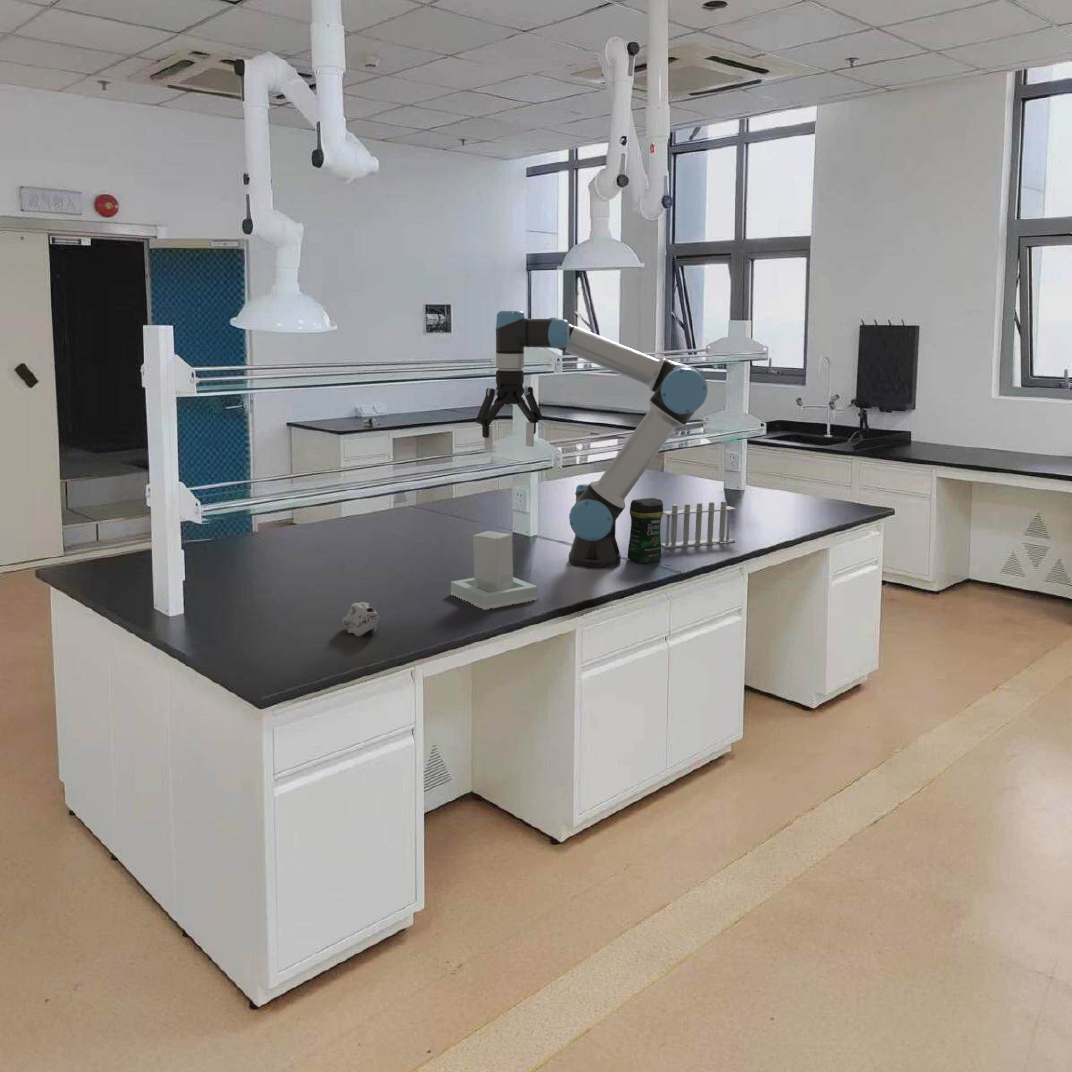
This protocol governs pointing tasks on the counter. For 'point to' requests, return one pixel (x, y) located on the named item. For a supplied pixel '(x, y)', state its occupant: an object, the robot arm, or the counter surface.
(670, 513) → the test tube rack
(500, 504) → the counter surface
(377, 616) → the skull
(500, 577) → the skincare box
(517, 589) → the square shallow tray
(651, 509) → the coffee jar
